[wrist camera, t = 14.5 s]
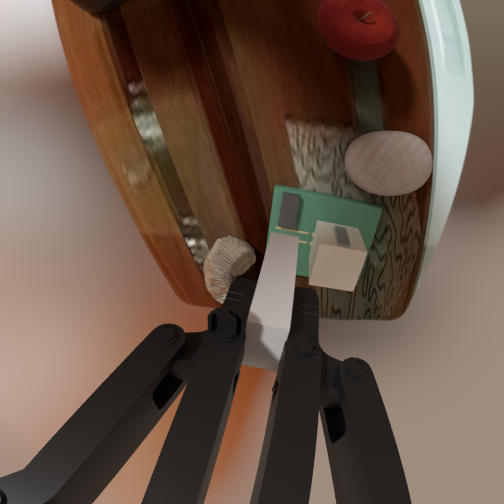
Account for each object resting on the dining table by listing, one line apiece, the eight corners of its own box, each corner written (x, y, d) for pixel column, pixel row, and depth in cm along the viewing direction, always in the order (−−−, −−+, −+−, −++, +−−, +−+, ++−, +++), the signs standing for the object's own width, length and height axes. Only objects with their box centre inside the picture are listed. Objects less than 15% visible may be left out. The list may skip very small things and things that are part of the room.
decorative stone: (342, 188, 37) (346, 199, 33) (341, 126, 33) (346, 129, 29) (422, 191, 34) (434, 202, 30) (425, 132, 30) (440, 137, 26)
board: (264, 264, 46) (260, 279, 43) (275, 184, 39) (271, 193, 35) (355, 281, 44) (358, 297, 41) (380, 205, 37) (387, 216, 33)
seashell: (229, 217, 48) (186, 238, 40) (279, 230, 42) (238, 257, 35) (233, 281, 54) (197, 308, 47) (276, 299, 49) (242, 332, 42)
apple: (355, 80, 29) (371, 71, 20) (300, 34, 27) (297, 11, 19) (397, 42, 24) (423, 25, 16) (344, -3, 22) (353, -32, 14)
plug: (308, 257, 42) (308, 284, 36) (317, 217, 39) (319, 240, 33) (347, 264, 42) (353, 291, 36) (359, 225, 38) (368, 249, 32)
